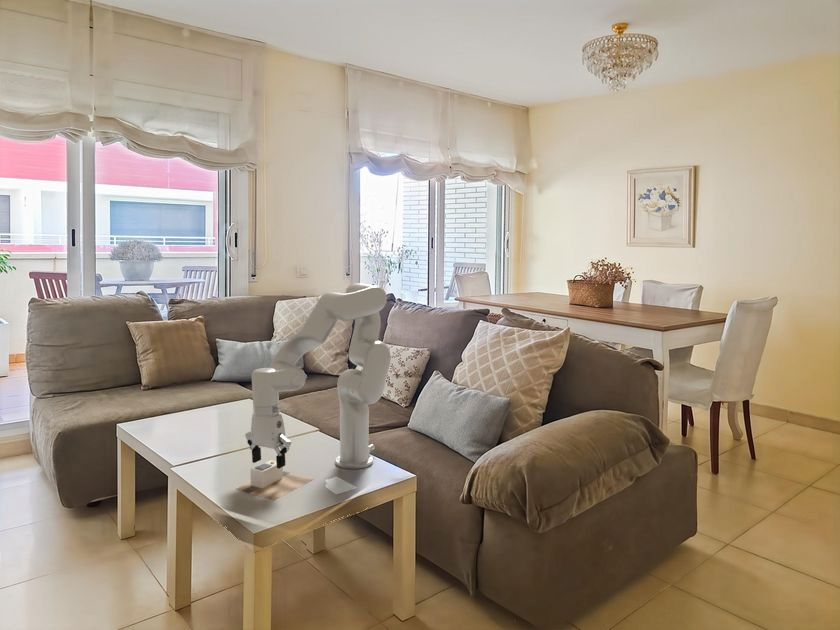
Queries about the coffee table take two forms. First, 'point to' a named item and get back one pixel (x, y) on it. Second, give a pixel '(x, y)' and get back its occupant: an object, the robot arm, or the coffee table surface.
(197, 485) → the coffee table surface
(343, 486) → the hard drive
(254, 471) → the stud finder
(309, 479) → the subfloor board
